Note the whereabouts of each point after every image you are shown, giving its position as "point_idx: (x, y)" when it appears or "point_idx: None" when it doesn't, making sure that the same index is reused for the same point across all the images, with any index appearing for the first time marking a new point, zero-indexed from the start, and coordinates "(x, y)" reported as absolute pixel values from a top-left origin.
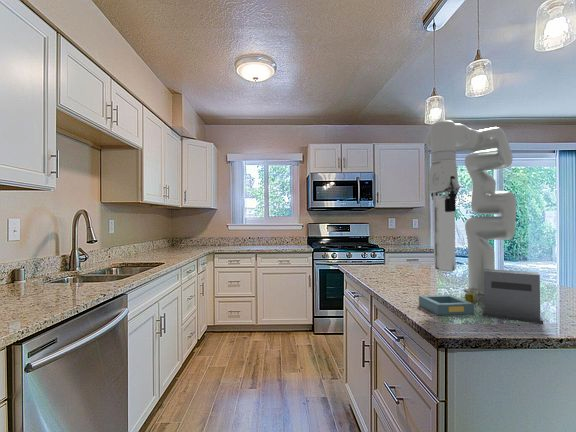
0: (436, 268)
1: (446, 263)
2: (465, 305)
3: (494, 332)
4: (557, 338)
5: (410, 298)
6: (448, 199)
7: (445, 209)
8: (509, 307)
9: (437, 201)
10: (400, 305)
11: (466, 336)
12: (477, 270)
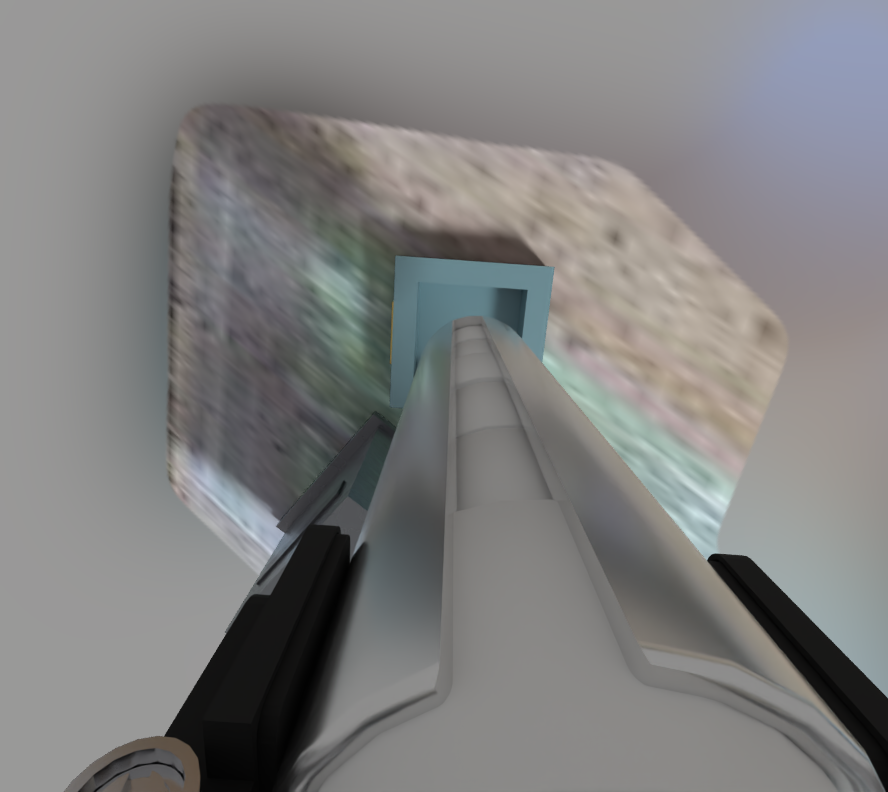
0: (481, 323)
1: (422, 355)
2: (391, 372)
3: (219, 324)
4: (167, 454)
5: (668, 301)
6: (213, 767)
7: (328, 536)
8: (327, 488)
9: (495, 598)
10: (572, 185)
11: (188, 207)
12: None
